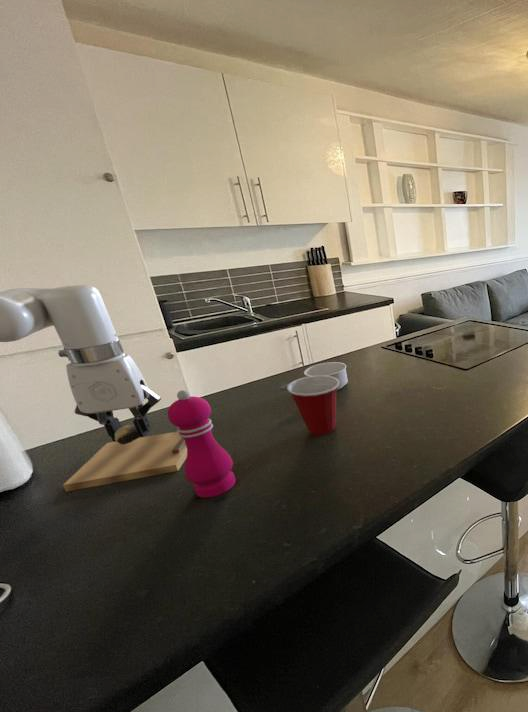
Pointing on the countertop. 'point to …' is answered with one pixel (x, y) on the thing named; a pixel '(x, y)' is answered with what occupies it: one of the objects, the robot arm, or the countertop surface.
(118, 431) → the brown rounded domed piece
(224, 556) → the countertop surface
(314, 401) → the plastic cup
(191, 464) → the pepper mill
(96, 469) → the serving board
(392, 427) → the countertop surface
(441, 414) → the countertop surface
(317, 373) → the saucepan
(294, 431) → the countertop surface
